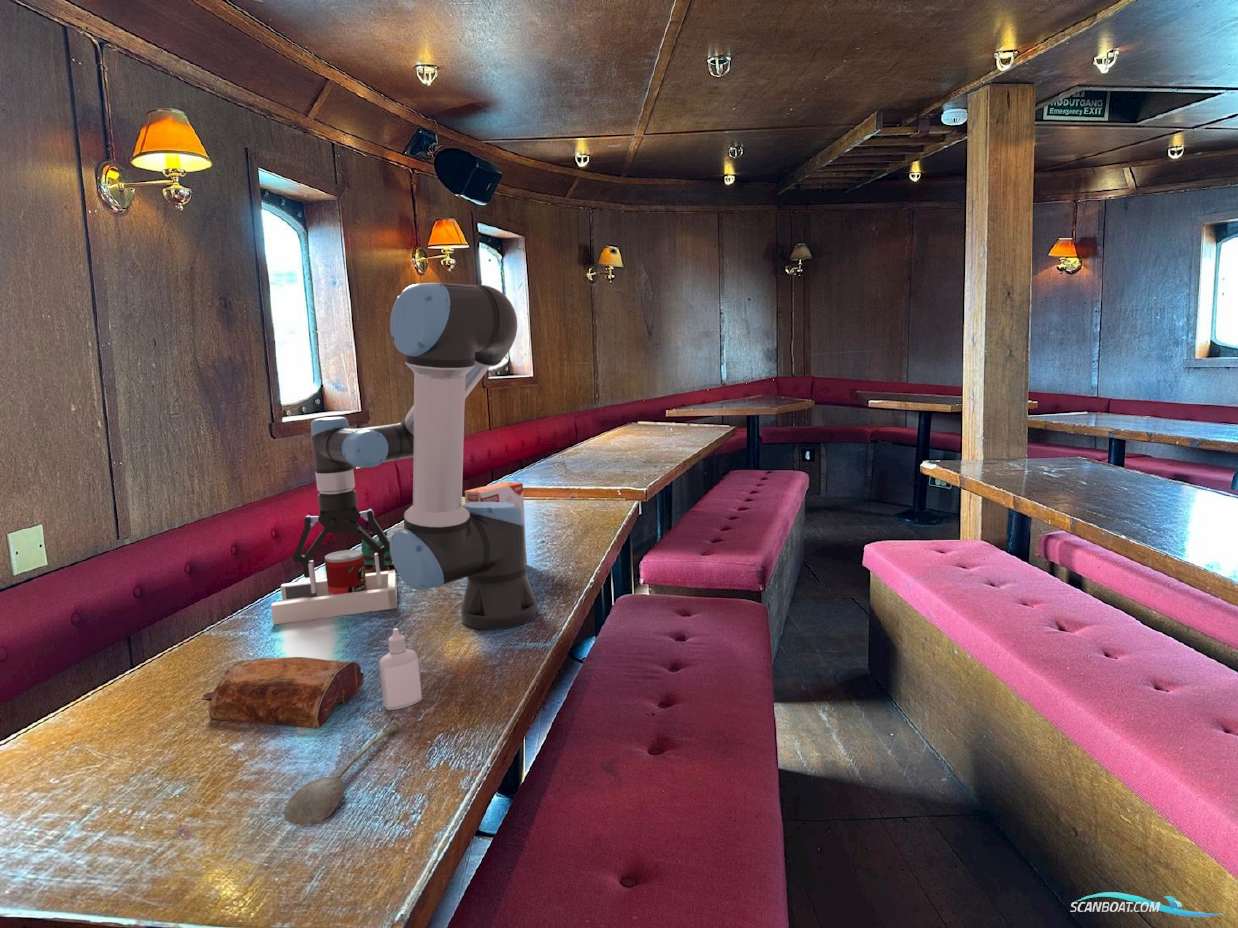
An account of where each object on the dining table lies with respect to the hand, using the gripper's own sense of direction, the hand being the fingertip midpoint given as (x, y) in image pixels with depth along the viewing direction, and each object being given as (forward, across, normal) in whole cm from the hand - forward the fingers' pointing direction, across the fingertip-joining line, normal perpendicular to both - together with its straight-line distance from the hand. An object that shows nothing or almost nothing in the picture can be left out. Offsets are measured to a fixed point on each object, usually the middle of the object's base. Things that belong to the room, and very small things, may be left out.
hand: (347, 587), depth 160 cm
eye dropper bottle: (+4, -11, +53) cm, 54 cm away
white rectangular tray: (+4, +2, 0) cm, 4 cm away
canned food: (+4, 0, 0) cm, 4 cm away
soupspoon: (+4, -5, +70) cm, 70 cm away
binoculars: (+4, -7, -23) cm, 24 cm away
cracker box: (+4, -34, -10) cm, 36 cm away
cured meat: (+4, +8, +43) cm, 44 cm away
